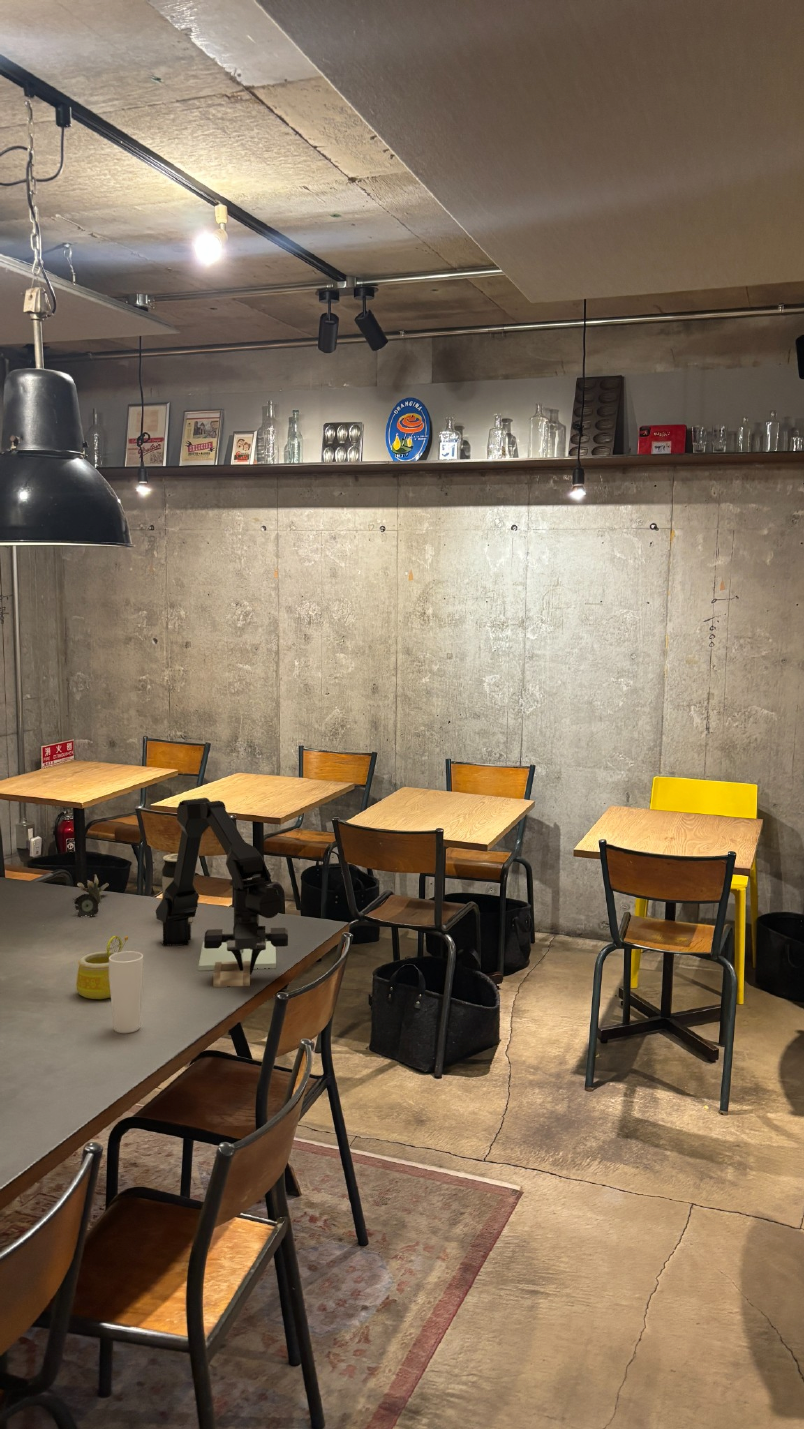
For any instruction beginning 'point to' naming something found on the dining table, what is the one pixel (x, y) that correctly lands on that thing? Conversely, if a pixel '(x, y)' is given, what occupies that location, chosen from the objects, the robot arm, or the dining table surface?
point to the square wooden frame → (231, 974)
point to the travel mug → (169, 873)
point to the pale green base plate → (222, 955)
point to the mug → (96, 972)
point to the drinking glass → (126, 990)
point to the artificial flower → (89, 898)
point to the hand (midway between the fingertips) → (246, 974)
